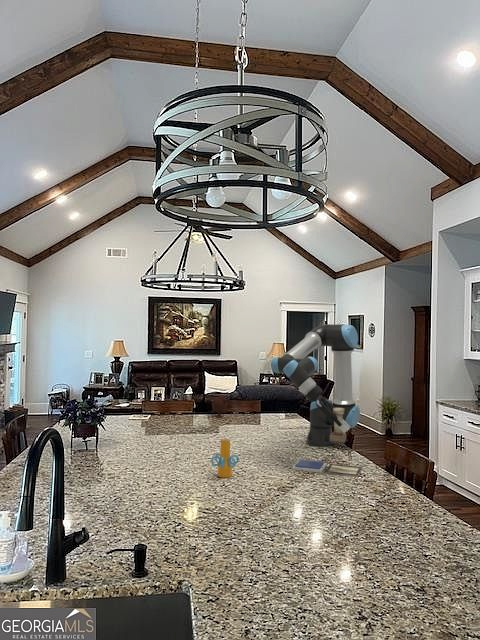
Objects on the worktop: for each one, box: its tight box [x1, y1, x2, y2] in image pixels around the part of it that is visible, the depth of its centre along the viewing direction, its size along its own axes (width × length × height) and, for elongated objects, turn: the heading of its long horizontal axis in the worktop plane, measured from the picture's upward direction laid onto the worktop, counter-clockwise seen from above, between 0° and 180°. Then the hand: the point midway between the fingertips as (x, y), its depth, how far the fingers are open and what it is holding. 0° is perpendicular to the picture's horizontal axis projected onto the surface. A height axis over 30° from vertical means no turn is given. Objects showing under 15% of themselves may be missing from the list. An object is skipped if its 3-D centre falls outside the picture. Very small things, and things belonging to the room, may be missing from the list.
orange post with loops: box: [210, 438, 240, 479], centre depth 224 cm, size 12×10×15 cm
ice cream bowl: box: [211, 395, 228, 419], centre depth 368 cm, size 11×11×15 cm
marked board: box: [324, 463, 363, 478], centre depth 235 cm, size 14×14×1 cm
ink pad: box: [291, 459, 328, 473], centre depth 240 cm, size 13×13×2 cm
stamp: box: [330, 408, 347, 445], centre depth 236 cm, size 7×6×14 cm
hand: (347, 430), depth 234 cm, fingers closed on stamp, 4 cm apart
